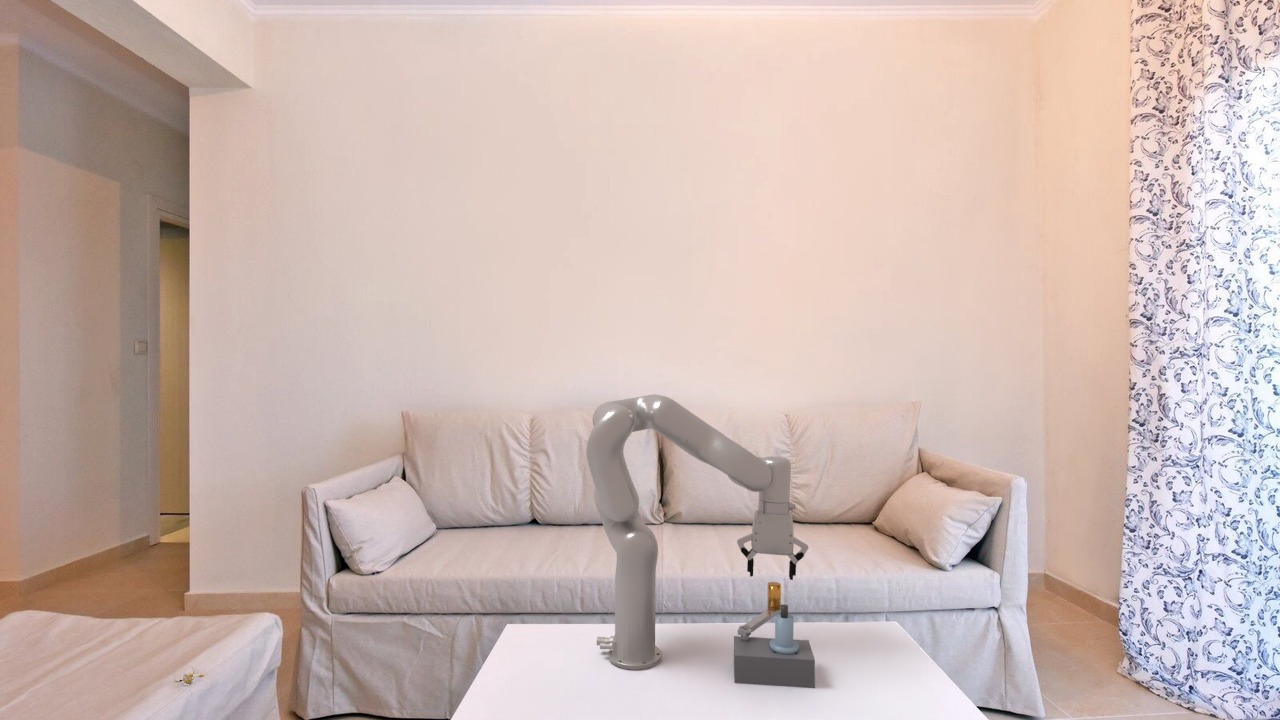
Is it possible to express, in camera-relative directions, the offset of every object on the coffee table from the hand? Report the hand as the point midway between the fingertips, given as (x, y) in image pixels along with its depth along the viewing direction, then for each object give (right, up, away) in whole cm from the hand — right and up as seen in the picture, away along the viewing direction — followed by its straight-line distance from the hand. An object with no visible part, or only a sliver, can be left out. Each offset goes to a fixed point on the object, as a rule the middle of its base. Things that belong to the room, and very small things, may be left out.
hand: (771, 576), depth 163 cm
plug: (0, -15, -16) cm, 22 cm away
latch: (-4, -9, -6) cm, 11 cm away
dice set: (-131, -17, -19) cm, 134 cm away
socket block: (-3, -17, -16) cm, 23 cm away
